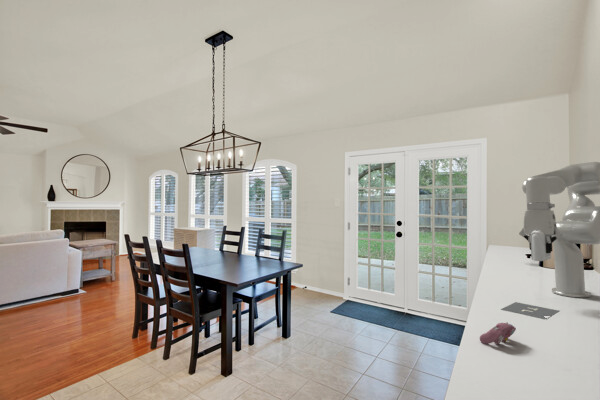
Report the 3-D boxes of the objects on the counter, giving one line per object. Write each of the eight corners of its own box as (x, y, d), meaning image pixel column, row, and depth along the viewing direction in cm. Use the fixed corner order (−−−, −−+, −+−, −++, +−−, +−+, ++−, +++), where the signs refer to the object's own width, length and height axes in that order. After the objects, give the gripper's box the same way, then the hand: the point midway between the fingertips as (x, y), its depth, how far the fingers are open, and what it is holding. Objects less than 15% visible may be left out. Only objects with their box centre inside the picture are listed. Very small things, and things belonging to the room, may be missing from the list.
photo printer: (540, 257, 127) (538, 228, 128) (552, 259, 124) (551, 228, 124) (529, 260, 122) (528, 229, 122) (542, 262, 118) (541, 230, 119)
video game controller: (491, 352, 85) (502, 334, 82) (476, 340, 89) (486, 321, 86) (511, 344, 90) (521, 326, 87) (496, 332, 93) (506, 315, 91)
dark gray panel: (515, 302, 123) (515, 301, 123) (559, 311, 112) (559, 310, 112) (500, 309, 115) (500, 309, 115) (546, 320, 104) (546, 319, 104)
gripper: (568, 206, 119) (571, 253, 118) (518, 207, 133) (520, 249, 132) (561, 206, 115) (564, 255, 114) (510, 207, 128) (513, 251, 128)
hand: (541, 251), depth 123 cm, fingers closed on photo printer, 4 cm apart
